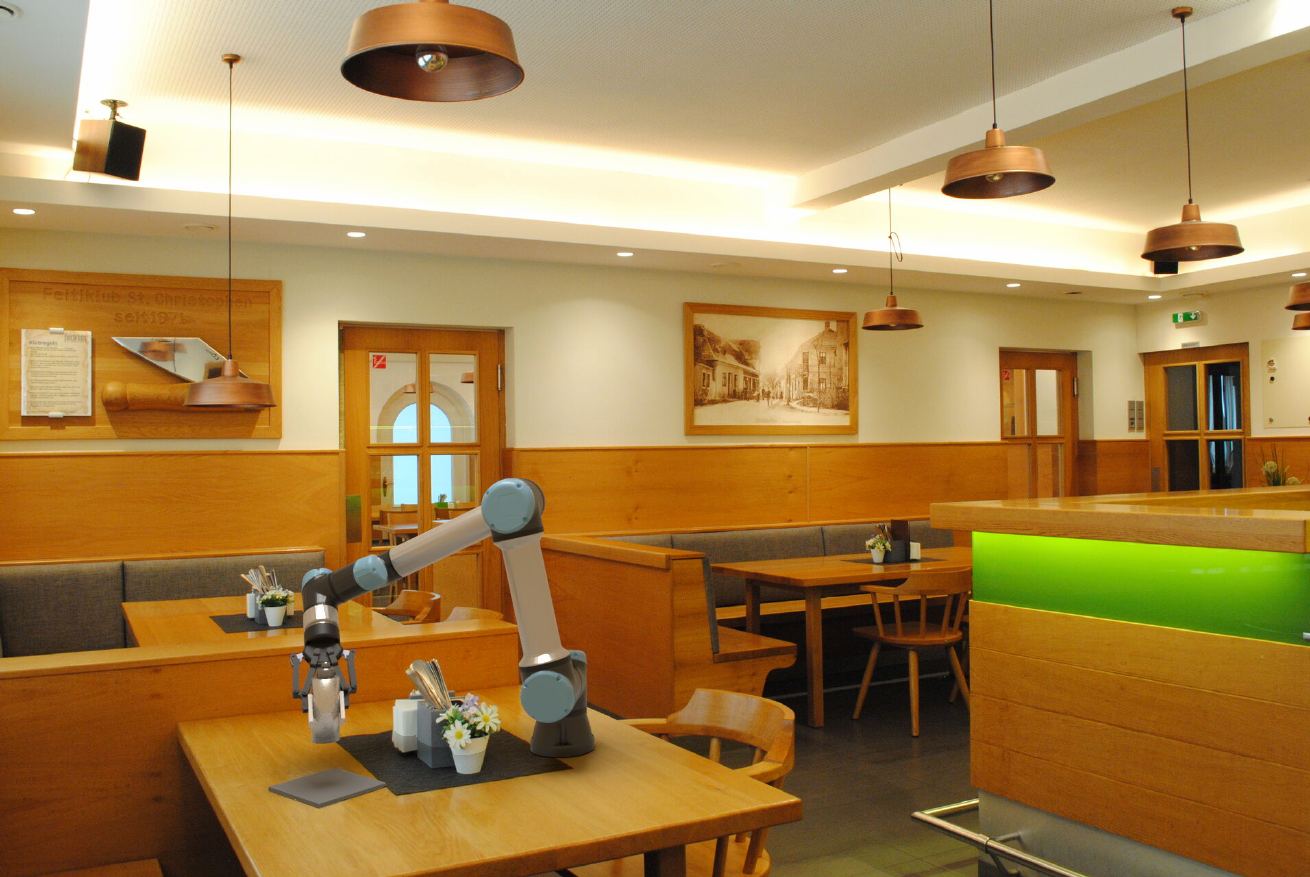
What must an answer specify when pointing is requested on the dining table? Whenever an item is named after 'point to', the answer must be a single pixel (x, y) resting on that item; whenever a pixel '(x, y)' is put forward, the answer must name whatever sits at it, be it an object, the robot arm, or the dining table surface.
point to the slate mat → (327, 787)
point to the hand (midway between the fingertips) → (327, 723)
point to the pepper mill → (326, 705)
